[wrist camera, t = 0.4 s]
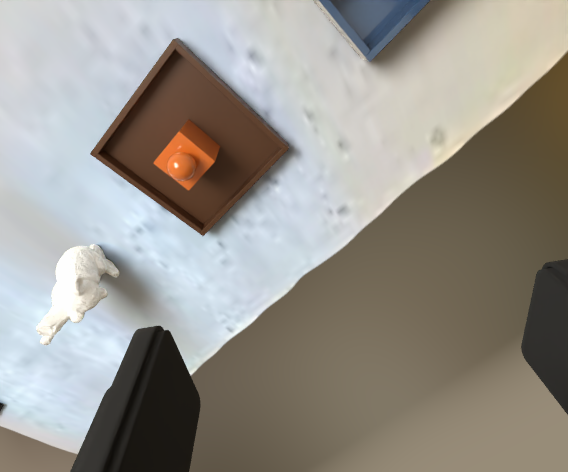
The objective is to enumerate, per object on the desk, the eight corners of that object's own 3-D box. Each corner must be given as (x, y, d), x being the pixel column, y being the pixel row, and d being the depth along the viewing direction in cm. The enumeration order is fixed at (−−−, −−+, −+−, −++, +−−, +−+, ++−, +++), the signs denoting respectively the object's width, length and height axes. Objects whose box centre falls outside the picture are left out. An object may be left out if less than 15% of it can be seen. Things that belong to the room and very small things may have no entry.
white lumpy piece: (105, 290, 51) (64, 359, 41) (58, 266, 49) (2, 332, 39) (135, 251, 48) (100, 315, 38) (87, 223, 46) (35, 283, 36)
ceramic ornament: (164, 147, 41) (145, 172, 34) (188, 118, 39) (173, 139, 33) (196, 173, 43) (184, 201, 36) (220, 146, 41) (212, 170, 35)
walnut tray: (96, 148, 41) (89, 154, 39) (177, 37, 36) (173, 38, 34) (205, 228, 47) (203, 236, 45) (288, 143, 42) (289, 148, 40)
